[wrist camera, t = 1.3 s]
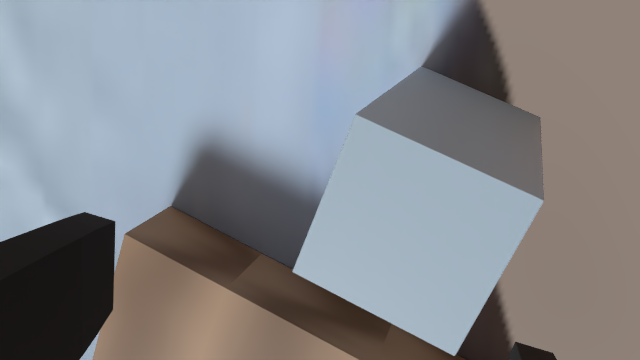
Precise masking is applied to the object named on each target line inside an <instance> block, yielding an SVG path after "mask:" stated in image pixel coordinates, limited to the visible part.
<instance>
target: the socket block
mask: <svg viewBox="0 0 640 360" xmlns="http://www.w3.org/2000/svg"><path fill="white" fill-rule="evenodd" d="M292 271H293V269H291V268H289V267H287V266H285V265H283V264H281V263H279V262H277V261H275V260H274V259H272V258H270V257H268V256H266V255H264V254H262V253H260V252H258V251H256V250H254V249H252V248H250V247H248V246H247V245H245V244H243V243H241V242H239V241H237V240H235V239H233V238H231V237H229V236H227V235H225V234H223V233H221V232H220V231H218V230H216V229H214V228H212V227H210V226H208V225H206V224H204V223H202V222H200V221H198V220H196V219H194V218H193V217H191V216H189V215H187V214H185V213H183V212H181V211H179V210H177V209H175V208H173V207H171V206H170V207H168V208H167V209H165V210H163V211H162V212H160V213H158V214H157V215H155V216H153V217H152V218H150V219H149V220H147V221H145V222H144V223H142V224H140V225H139V226H137V227H135V228H134V229H132V230H130V231H129V232H127V233H126V234H125V235H124V239H123V243H122V246H121V250H120V254H119V258H118V262H117V266H116V270H115V274H114V298H113V311H112V312H111V314H110V315H109V317H108V318H107V320H106V321H105V323H104V325H103V326H102V328H101V329H100V333H99V337H98V341H97V345H96V349H95V353H94V356H93V360H466V359H464V358H462V357H461V356H459V355H457V354H456V355H455V356H453V355H451V354H449V353H447V352H445V351H444V350H442V349H440V348H438V347H436V346H434V345H432V344H430V343H428V342H426V341H424V340H422V339H420V338H419V337H417V336H415V335H413V334H411V333H409V332H407V331H405V330H403V329H401V328H399V327H397V326H395V325H394V324H392V323H390V322H388V321H386V320H384V319H382V318H380V317H378V316H376V315H374V314H372V313H370V312H369V311H367V310H365V309H363V308H361V307H359V306H357V305H355V304H353V303H351V302H349V301H347V300H345V299H344V298H342V297H340V296H338V295H336V294H334V293H332V292H330V291H328V290H326V289H324V288H322V287H320V286H318V285H317V284H315V283H313V282H311V281H309V280H307V279H305V278H303V277H301V276H299V275H297V274H295V273H293V272H292Z"/></svg>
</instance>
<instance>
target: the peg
mask: <svg viewBox="0 0 640 360" xmlns="http://www.w3.org/2000/svg"><path fill="white" fill-rule="evenodd" d="M543 202H544V191H543V168H542V148H541V126H540V117H538V116H535V115H533V114H531V113H529V112H526V111H524V110H522V109H520V108H517V107H515V106H513V105H510V104H508V103H506V102H503V101H501V100H499V99H496V98H494V97H492V96H489V95H487V94H485V93H483V92H480V91H478V90H476V89H473V88H471V87H469V86H466V85H464V84H462V83H459V82H457V81H455V80H453V79H450V78H448V77H446V76H443V75H441V74H439V73H436V72H434V71H432V70H429V69H427V68H425V67H423V66H421V67H420V68H419V69H417V70H416V71H414V72H413V73H412V74H410V75H409V76H408V77H406V78H405V79H403V80H402V81H401V82H399V83H398V84H397V85H395V86H394V87H392V88H391V89H390V90H388V91H387V92H385V93H384V94H383V95H381V96H380V97H379V98H377V99H376V100H374V101H373V102H372V103H370V104H369V105H368V106H366V107H365V108H363V109H362V110H361V111H359V112H358V113H357V114H355V117H354V119H353V122H352V124H351V127H350V129H349V132H348V134H347V137H346V139H345V142H344V144H343V147H342V149H341V152H340V154H339V157H338V159H337V162H336V164H335V167H334V169H333V172H332V174H331V177H330V179H329V182H328V184H327V187H326V189H325V192H324V194H323V196H322V199H321V201H320V204H319V206H318V209H317V211H316V214H315V216H314V219H313V221H312V224H311V226H310V229H309V231H308V234H307V236H306V239H305V241H304V244H303V246H302V249H301V251H300V254H299V256H298V259H297V261H296V264H295V266H294V269H293V271H292V272H293V273H295V274H297V275H299V276H301V277H303V278H305V279H307V280H309V281H311V282H313V283H315V284H317V285H318V286H320V287H322V288H324V289H326V290H328V291H330V292H332V293H334V294H336V295H338V296H340V297H342V298H344V299H345V300H347V301H349V302H351V303H353V304H355V305H357V306H359V307H361V308H363V309H365V310H367V311H369V312H370V313H372V314H374V315H376V316H378V317H380V318H382V319H384V320H386V321H388V322H390V323H392V324H394V325H395V326H397V327H399V328H401V329H403V330H405V331H407V332H409V333H411V334H413V335H415V336H417V337H419V338H420V339H422V340H424V341H426V342H428V343H430V344H432V345H434V346H436V347H438V348H440V349H442V350H444V351H445V352H447V353H449V354H451V355H453V356H455V355H456V353H457V351H458V350H459V348H460V346H461V344H462V343H463V341H464V339H465V337H466V336H467V334H468V332H469V330H470V329H471V327H472V325H473V323H474V322H475V320H476V318H477V317H478V315H479V313H480V311H481V310H482V308H483V306H484V304H485V303H486V301H487V299H488V297H489V296H490V294H491V292H492V290H493V289H494V287H495V285H496V283H497V282H498V280H499V278H500V276H501V275H502V273H503V271H504V270H505V268H506V266H507V264H508V263H509V261H510V259H511V257H512V256H513V254H514V252H515V250H516V249H517V247H518V245H519V243H520V242H521V240H522V238H523V236H524V235H525V233H526V231H527V229H528V228H529V226H530V224H531V223H532V220H533V219H534V217H535V216H536V214H537V212H538V210H539V209H540V207H541V205H542V203H543Z"/></svg>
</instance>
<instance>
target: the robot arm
mask: <svg viewBox="0 0 640 360" xmlns="http://www.w3.org/2000/svg"><path fill="white" fill-rule="evenodd" d="M114 252H115V221H112V220H109V219H105V218H102V217H99V216H96V215H92V214H89V213H86V212H84V213H81V214H77V215H74V216H71V217H68V218H65V219H62V220H59V221H56V222H53V223H51V224H48V225H45V226H43V227H40V228H37V229H34V230H32V231H29V232H26V233H24V234H21V235H18V236H16V237H13V238H10V239H8V240H5V241H2V242H0V360H79V359H80V358H81V357H82V356H83V354H84V353H85V351H86V350H87V348H88V347H89V346H90V344H91V343H92V341H93V340H94V338H95V337H96V335H97V334H98V332H99V331H100V329H101V328H102V326H103V325H104V323H105V321H106V320H107V318H108V317H109V315H110V314H111V312H112V311H113V298H114ZM508 360H557V359H556V358H555V356H554V354H553V353H551V352H548V351H544V350H541V349H537V348H534V347H531V346H528V345H524V344H521V343H518V342H515V344H514V346H513V348H512V351H511V353H510V355H509V358H508Z"/></svg>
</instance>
